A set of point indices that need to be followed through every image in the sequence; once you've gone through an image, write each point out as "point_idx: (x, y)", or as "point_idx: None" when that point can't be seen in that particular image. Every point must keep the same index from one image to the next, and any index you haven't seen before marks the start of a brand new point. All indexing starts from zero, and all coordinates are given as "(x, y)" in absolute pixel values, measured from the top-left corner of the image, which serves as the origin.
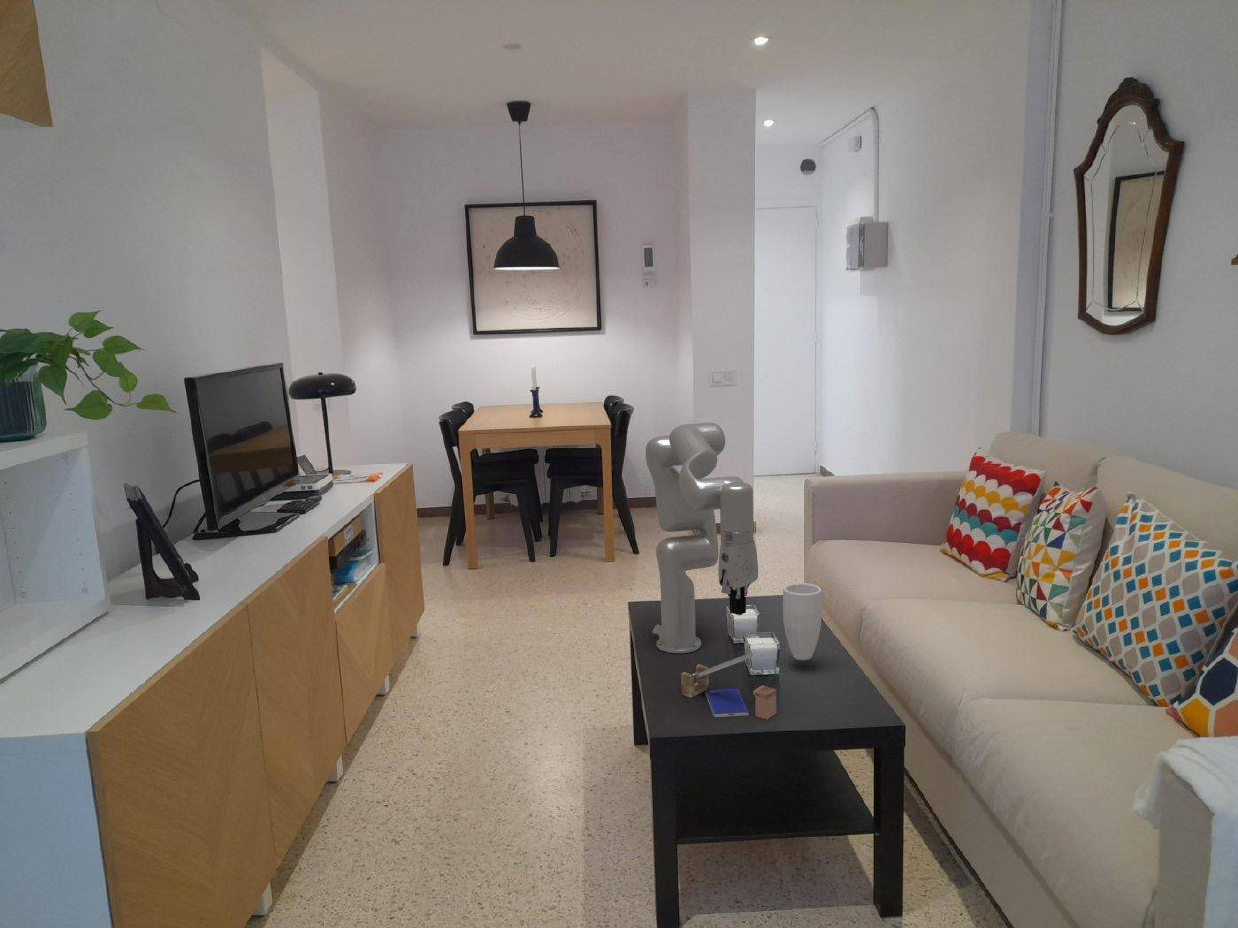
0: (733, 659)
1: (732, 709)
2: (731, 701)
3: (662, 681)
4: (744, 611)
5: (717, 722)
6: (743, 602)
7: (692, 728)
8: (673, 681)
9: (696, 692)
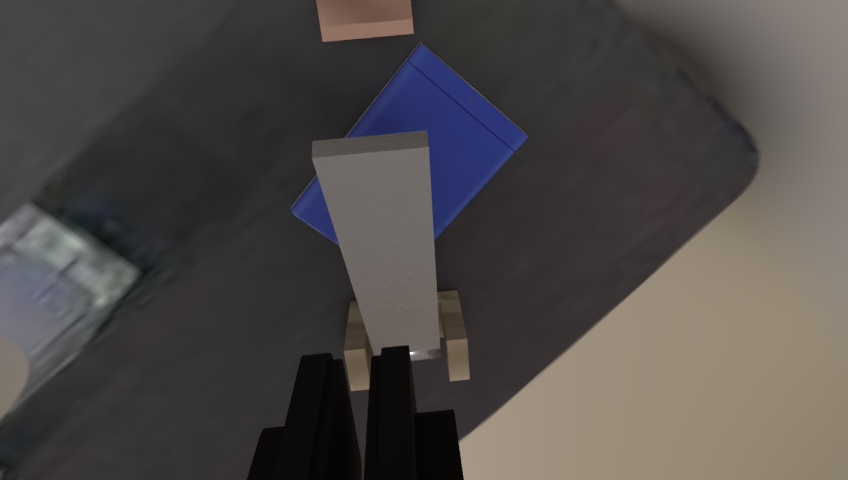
0: (358, 243)
1: (454, 105)
2: None
3: None
4: (326, 367)
5: (555, 92)
6: (328, 469)
7: (652, 128)
8: None
9: None
